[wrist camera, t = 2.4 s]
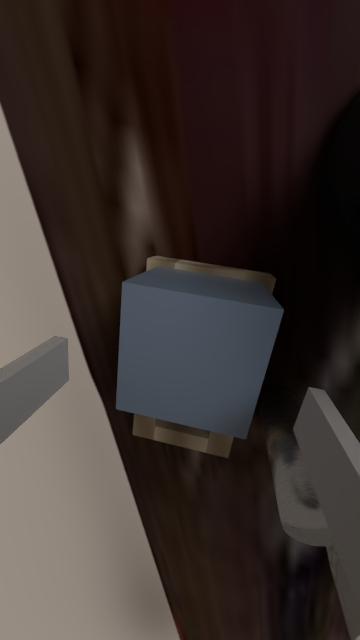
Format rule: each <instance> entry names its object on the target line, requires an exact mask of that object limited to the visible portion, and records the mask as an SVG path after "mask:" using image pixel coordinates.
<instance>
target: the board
mask: <svg viewBox="0 0 360 640" xmlns="http://www.w3.org/2000/svg"><path fill="white" fill-rule="evenodd" d="M157 266H162V267H168V268H174V269H180V270H187V271H193V272H199V273H205V274H211V275H218V276H224V277H230V278H236V279H243V280H249V281H255V282H261V283H263V284H264V285H265V287H266V288H267V289H268V290H269V292H270V293H271V294H272V293H273V289H274V285H275V282H276V278H275V277H274V276H273V275H271V274H270V273H264V272H258V271H251V270H245V269H238V268H232V267H226V266H219V265H213V264H206V263H200V262H194V261H187V260H181V259H174V258H168V257H161V256H154V257H150V258H147V269H146V271H148V270H150V269H152V268H154V267H157ZM133 435H135V436H139V437H143V438H148V439H152V440H156V441H160V442H164V443H168V444H172V445H176V446H180V447H184V448H188V449H192V450H196V451H200V452H205V453H209V454H213V455H217V456H221V457H225V458H228V456H229V453H230V449H231V445H232V441H233V438H234V437H233V436H228V435H224V434H220V433H216V432H211V431H207V430H203V429H199V428H194V427H190V426H186V425H182V424H177V423H173V422H169V421H165V420H160V419H156V418H152V417H148V416H143V415H139V414H135V413H134V423H133Z"/></svg>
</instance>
